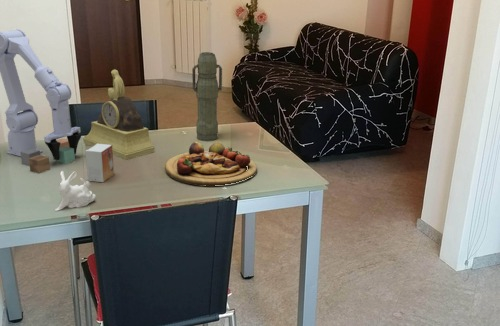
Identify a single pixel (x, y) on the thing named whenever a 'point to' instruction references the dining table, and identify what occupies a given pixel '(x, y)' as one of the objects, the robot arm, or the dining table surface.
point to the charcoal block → (28, 155)
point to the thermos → (207, 95)
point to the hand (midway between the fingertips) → (65, 156)
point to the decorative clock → (120, 125)
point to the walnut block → (39, 164)
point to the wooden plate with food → (210, 166)
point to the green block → (66, 155)
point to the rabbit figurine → (74, 193)
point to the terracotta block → (63, 142)
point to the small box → (99, 162)
